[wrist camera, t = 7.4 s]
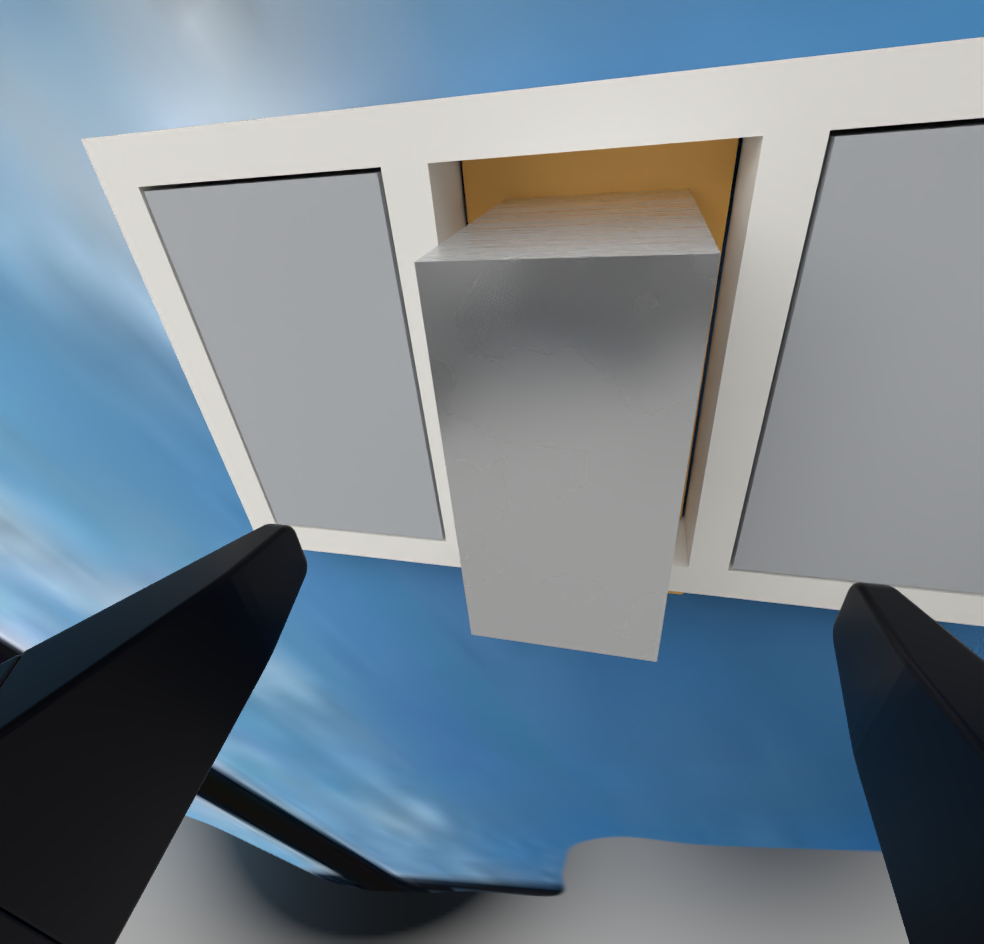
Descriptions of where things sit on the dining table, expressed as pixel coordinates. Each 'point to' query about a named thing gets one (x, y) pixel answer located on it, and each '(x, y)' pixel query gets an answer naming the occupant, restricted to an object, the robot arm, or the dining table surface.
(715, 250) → the grey block
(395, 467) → the rack
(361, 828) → the dining table surface
